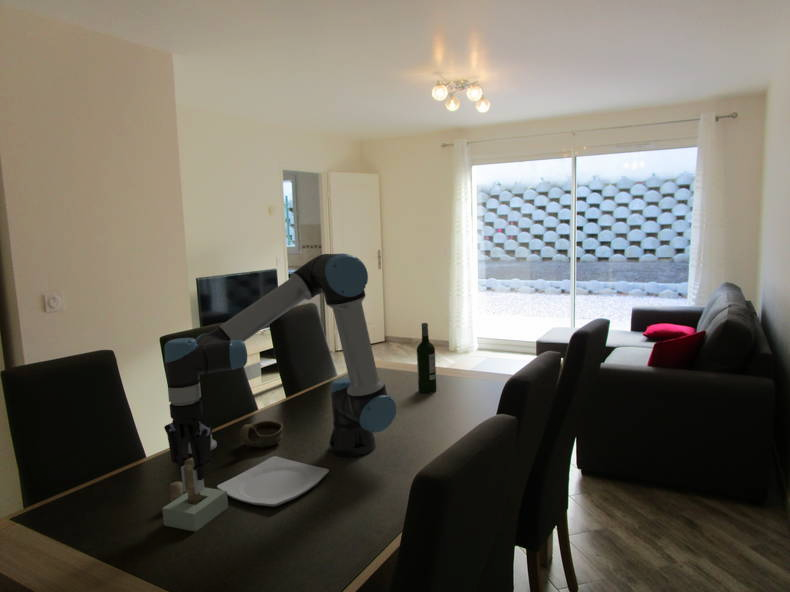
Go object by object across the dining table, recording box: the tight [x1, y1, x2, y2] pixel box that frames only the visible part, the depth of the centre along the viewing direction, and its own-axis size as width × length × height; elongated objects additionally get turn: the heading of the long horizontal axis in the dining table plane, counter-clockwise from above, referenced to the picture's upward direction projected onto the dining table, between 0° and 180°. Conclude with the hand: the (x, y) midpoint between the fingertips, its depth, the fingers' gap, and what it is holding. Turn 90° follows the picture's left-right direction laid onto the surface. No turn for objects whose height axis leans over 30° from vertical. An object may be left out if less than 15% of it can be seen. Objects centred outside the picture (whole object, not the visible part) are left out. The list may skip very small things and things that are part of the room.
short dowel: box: [169, 481, 184, 502], centre depth 142 cm, size 3×3×6 cm
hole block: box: [161, 486, 229, 532], centre depth 136 cm, size 10×12×4 cm
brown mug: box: [239, 419, 284, 448], centre depth 179 cm, size 14×18×10 cm
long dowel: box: [185, 457, 201, 505], centre depth 135 cm, size 3×3×13 cm
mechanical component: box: [188, 433, 218, 455], centre depth 181 cm, size 10×4×10 cm
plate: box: [216, 455, 330, 508], centre depth 151 cm, size 24×24×3 cm
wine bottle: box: [416, 322, 437, 394], centre depth 232 cm, size 8×8×30 cm
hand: (193, 490), depth 135 cm, fingers closed on long dowel, 3 cm apart
